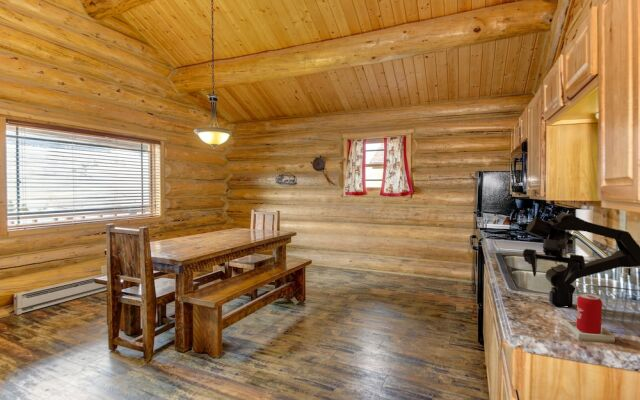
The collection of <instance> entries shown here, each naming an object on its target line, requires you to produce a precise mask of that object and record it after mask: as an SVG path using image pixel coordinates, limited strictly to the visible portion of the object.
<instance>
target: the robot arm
mask: <svg viewBox="0 0 640 400" xmlns="http://www.w3.org/2000/svg"><path fill="white" fill-rule="evenodd" d="M525 231H526V233H528V234H530V235H533V236H535V237H538V238H540V239H543V244H542V249H543V250H542V251H543V253H544V254H543V253H538V252H537V250H536V249H532V248H531V249H530V248H525V249H523V250H522V251H523V252H522V256H523V260H524V262H526V263H528V264H529V265H530V266H531V268H532V275H533V277H534V278H535V277H536V275H537V270H538V269H537V268H538V260H542V261H543V260H544V261H550V262H554V263H555V262H556V263H561V264H558V265H556V266H550V268H549V269H547V270H546V272H545V279H546V280H547V281H548V282H549V283H550V285H551V288H550V291H549V299H548V301H549V302H550V303H551V304H552V306H554V307H555V308H562V307H561V306H568V307H575V306H574V304H573V301H574V300H573V299H574V297H573V296H574V292H575V291H576V287H575V286H574V285H573V283H574V282H575V281H576V280H578V279H581V278H585V277H588V276H592V275H596V274H600V273H602V272H607V271H611V270H614V269H617V268H637V267H640V245H639V243H637V241H635V239H634V238H633V235H632V234H631V233H630V232H629V231H627V230H623V229H616V228H612V227H610V226H605V225H601V224H597V223H593V222H591V221H586V220H584V219H582V218H580V217H577V216H576V215H572V214H570V213H566V212H561V213H559V214H558V215H557V216H556V217H555V218H552V219H550V220H547V221H545V220H543V219H541V218H539V217H537V216H535V217H534V218H533V219H532V220H531V221H530V222H529V223H528V225H526V229H525ZM570 231H574V232H586V233H589V234H594V235H598V236H602V237H605V238H609V239H611V240H612V239H613V240H615V242H616V246H617V247H616V248H617V249H618V250H616V251H615V252H614V253H612V254H611V255H609V256H606V257H602V258H598V259H595V260H591V261H589V262H586V261H585V257H584V256H583V255H581V254H580V255H579V254H572V253H570V255H569V257H565V256H564V252H565V250H567V246H568V245H567V242H568V240H570V239H572V238H573V237H574V235H573V233H571V232H570ZM562 263H563V264H562ZM564 264H567V265H566V266H565V265H564ZM568 307H567V308H568ZM575 308H576V307H575Z"/></svg>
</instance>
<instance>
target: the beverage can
mask: <svg viewBox="0 0 640 400" xmlns="http://www.w3.org/2000/svg"><path fill="white" fill-rule="evenodd" d="M576 299H577V301H576V302H577V303H576V305H577V307H576V321H577V329H578V330H579V331H580V332H582V333H586V334H600V333H601V326H602V319H603V318H602V314H603V313H602V312H603V309H602V308H603V302H602V299H601V296H599V295H597V294H594V293H589V292H581V293H579V295H578V297H577V298H576Z"/></svg>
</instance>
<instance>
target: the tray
mask: <svg viewBox="0 0 640 400" xmlns="http://www.w3.org/2000/svg"><path fill="white" fill-rule="evenodd" d="M564 322H565V323H564V326H565V328H566V329H567V330H568V331H570V333H571V334H572V335H574V337H575V338H576V339H577V340H579V341H587V342H589V341H590V342H601V343H603V342H604V343H612V344H613V343H614V344H615V342H616V341H615V339H616V336H615V335H614V334H613V333H611V332H610V331H609V330H608V329H607V328H605V327H604V326H603V325H601V333H600V334H586V333H582V332H580V331H579V330H578V329H577V320H564Z"/></svg>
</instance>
